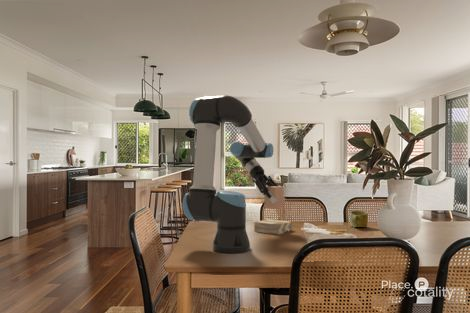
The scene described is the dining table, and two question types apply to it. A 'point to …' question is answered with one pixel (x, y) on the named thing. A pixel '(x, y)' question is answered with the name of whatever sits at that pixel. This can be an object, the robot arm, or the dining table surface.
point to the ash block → (272, 226)
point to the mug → (358, 219)
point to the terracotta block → (278, 194)
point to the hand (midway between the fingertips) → (279, 201)
